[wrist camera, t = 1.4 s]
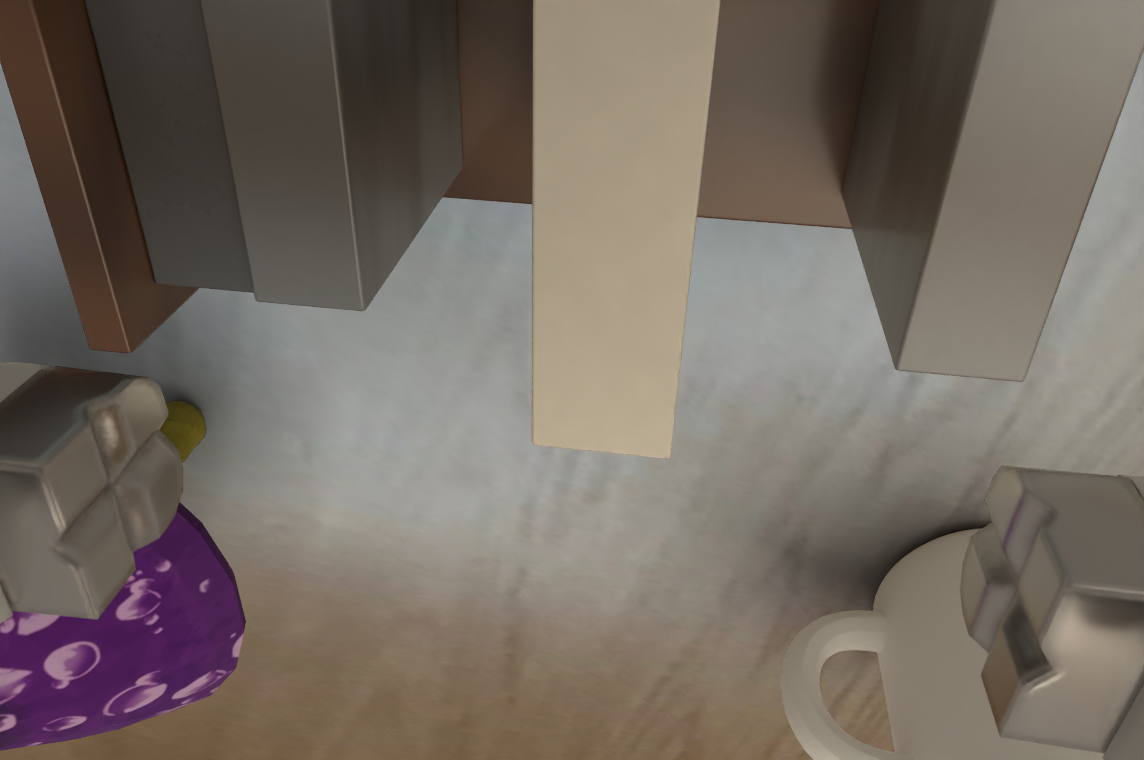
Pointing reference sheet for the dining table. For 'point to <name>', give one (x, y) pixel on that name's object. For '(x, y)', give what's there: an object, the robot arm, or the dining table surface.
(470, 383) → the dining table surface
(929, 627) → the mug
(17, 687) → the decorative mushroom
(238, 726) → the dining table surface
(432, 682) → the dining table surface
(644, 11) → the white book
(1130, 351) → the dining table surface
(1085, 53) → the brown book rack
